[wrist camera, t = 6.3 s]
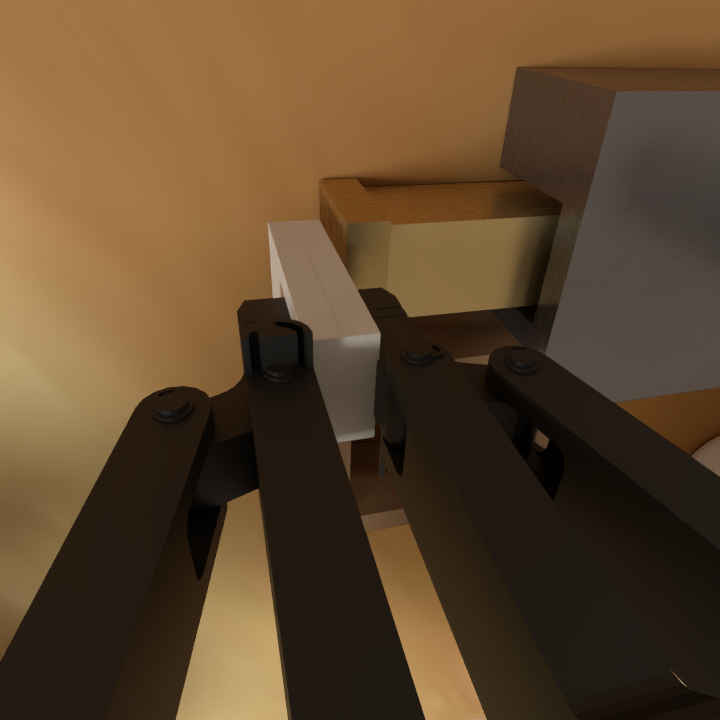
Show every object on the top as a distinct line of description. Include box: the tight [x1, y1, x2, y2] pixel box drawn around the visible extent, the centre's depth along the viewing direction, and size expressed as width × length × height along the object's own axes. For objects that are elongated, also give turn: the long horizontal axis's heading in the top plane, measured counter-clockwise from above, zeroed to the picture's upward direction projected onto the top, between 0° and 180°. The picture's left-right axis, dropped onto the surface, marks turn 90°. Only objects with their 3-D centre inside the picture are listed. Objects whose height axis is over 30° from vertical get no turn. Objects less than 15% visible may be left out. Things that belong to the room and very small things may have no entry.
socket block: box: [490, 67, 720, 403], centre depth 19 cm, size 14×10×5 cm
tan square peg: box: [320, 178, 563, 317], centre depth 18 cm, size 11×4×4 cm, turn 88°
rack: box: [338, 309, 549, 531], centre depth 21 cm, size 10×8×4 cm
